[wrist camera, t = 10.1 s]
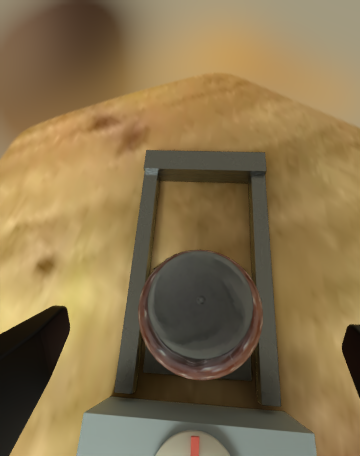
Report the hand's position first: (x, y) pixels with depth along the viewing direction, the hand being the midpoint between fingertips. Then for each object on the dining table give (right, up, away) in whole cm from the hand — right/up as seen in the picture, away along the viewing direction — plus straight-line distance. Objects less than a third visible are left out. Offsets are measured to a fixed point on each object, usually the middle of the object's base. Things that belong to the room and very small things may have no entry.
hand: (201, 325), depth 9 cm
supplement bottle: (+1, -4, +12) cm, 13 cm away
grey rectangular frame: (+1, 0, +14) cm, 14 cm away
